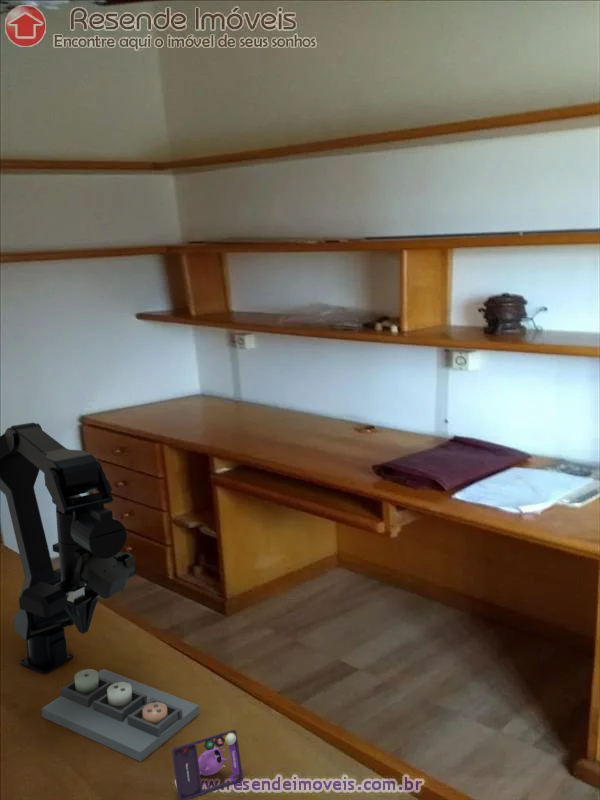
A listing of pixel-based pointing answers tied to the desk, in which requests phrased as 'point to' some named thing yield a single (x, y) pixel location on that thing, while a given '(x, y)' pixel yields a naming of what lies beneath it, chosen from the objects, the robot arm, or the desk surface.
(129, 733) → the button board
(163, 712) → the terracotta button
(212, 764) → the game card
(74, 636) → the desk surface
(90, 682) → the sage button
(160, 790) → the desk surface
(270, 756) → the desk surface
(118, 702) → the grey button
